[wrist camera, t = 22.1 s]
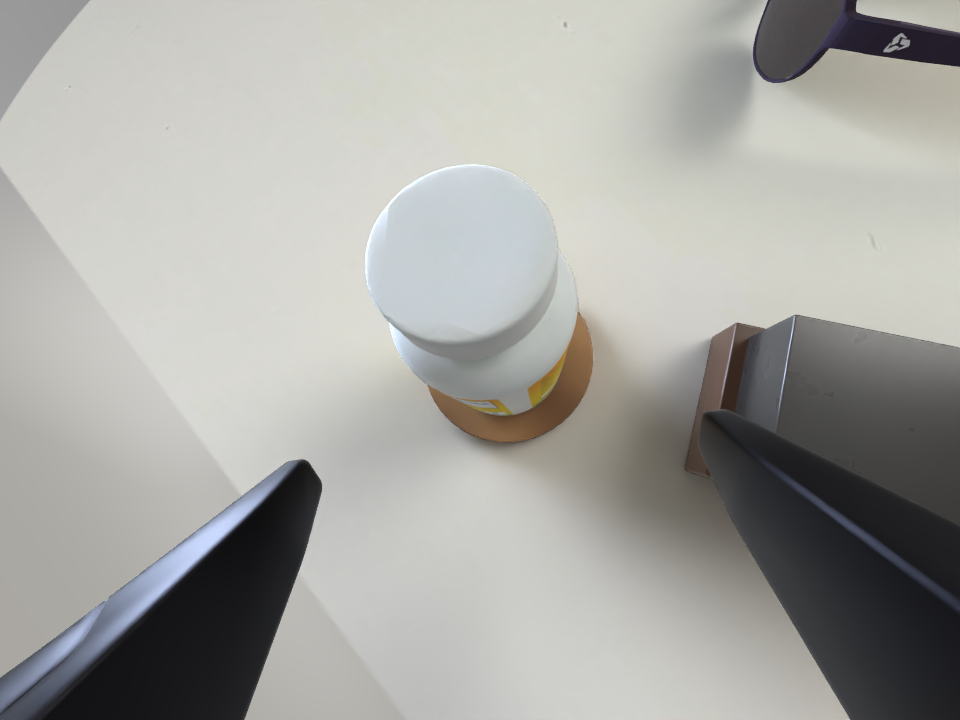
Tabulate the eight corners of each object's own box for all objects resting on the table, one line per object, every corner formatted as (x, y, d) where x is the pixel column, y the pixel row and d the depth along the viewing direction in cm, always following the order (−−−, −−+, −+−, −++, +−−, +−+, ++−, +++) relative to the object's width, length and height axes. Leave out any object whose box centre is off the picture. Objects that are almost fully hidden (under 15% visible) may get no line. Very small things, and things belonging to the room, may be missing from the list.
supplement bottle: (467, 431, 15) (357, 421, 6) (436, 327, 17) (310, 194, 8) (581, 393, 15) (644, 321, 6) (540, 289, 16) (536, 97, 7)
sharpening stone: (1099, 424, 12) (1407, 416, 8) (1096, 601, 11) (1446, 703, 7) (711, 336, 15) (779, 295, 11) (683, 469, 14) (745, 483, 10)
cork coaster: (527, 478, 15) (526, 480, 15) (397, 378, 17) (392, 376, 17) (625, 334, 16) (628, 331, 15) (487, 256, 18) (486, 250, 17)
